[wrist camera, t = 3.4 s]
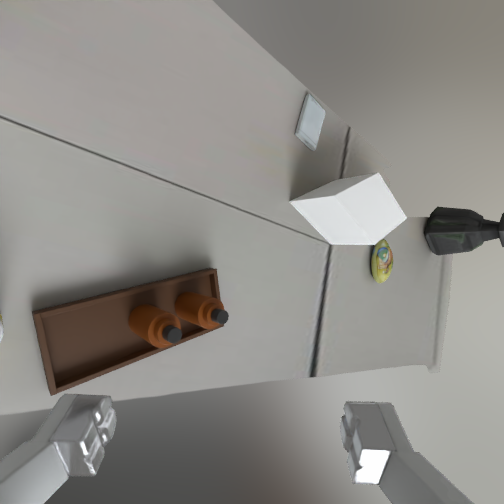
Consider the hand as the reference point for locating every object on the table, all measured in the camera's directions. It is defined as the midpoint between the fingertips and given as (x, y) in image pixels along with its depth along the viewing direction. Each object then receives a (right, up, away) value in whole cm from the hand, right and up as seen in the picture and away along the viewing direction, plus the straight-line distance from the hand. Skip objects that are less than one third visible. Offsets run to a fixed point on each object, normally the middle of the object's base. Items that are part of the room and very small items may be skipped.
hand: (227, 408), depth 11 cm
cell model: (+46, +2, +102) cm, 112 cm away
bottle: (+88, +15, +137) cm, 163 cm away
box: (+26, +18, +83) cm, 89 cm away
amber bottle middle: (-19, -7, +45) cm, 49 cm away
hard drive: (+17, +42, +74) cm, 87 cm away
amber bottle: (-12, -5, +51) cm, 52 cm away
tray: (-19, -7, +45) cm, 50 cm away
